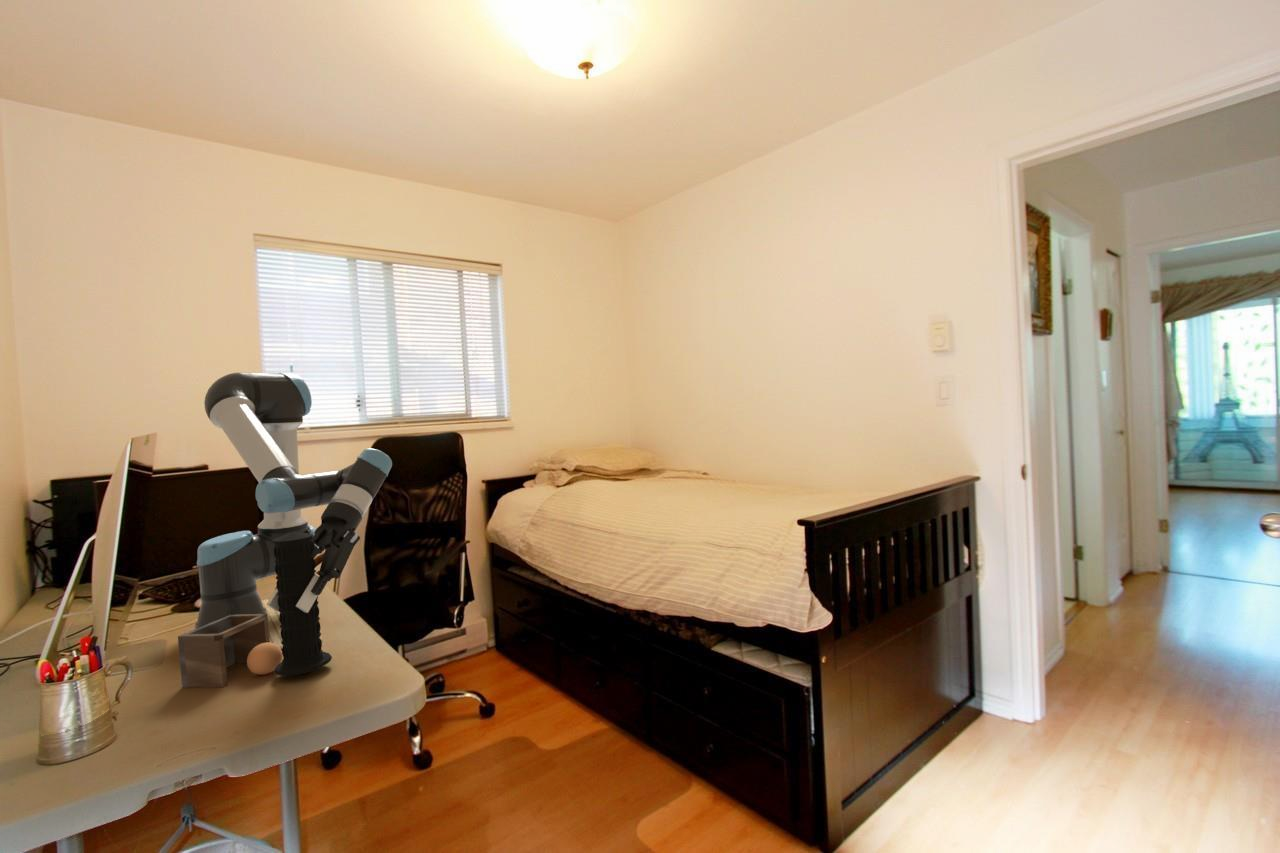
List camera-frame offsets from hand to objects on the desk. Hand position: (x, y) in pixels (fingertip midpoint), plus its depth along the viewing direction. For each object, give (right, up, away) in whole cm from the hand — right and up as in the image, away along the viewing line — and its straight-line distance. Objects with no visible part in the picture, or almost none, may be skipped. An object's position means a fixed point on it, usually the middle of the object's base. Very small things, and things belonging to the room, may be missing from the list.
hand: (287, 608), depth 113 cm
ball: (-7, -11, +4) cm, 14 cm away
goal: (-15, -15, +5) cm, 22 cm away
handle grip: (+2, -12, +3) cm, 13 cm away
